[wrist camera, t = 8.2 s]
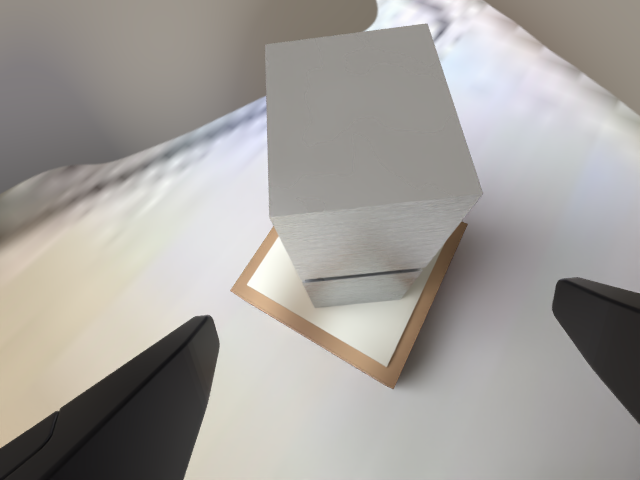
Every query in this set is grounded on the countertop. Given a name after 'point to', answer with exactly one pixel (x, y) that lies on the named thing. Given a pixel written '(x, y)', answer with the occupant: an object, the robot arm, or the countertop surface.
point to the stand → (346, 309)
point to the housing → (364, 161)
